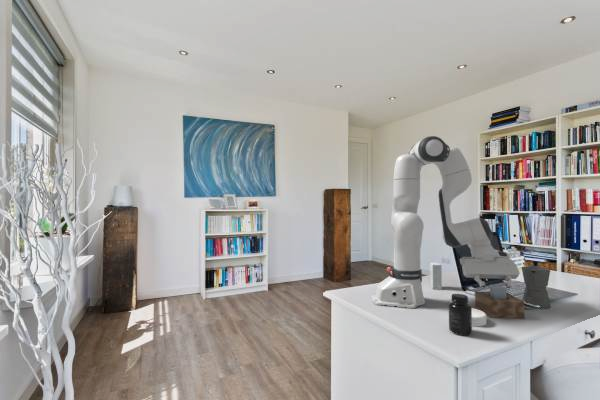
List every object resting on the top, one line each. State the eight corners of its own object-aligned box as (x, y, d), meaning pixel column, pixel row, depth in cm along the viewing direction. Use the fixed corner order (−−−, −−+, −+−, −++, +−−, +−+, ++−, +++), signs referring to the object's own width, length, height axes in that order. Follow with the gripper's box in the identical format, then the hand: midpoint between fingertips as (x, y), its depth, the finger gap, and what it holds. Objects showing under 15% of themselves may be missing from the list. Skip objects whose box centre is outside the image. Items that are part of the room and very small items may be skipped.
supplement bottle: (476, 335, 98) (476, 298, 98) (456, 336, 98) (455, 299, 98) (463, 326, 105) (463, 292, 105) (444, 327, 104) (444, 292, 104)
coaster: (458, 325, 107) (458, 315, 107) (452, 315, 116) (452, 306, 116) (490, 328, 104) (490, 318, 104) (481, 317, 114) (481, 308, 114)
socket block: (489, 317, 113) (488, 301, 113) (475, 306, 125) (475, 291, 125) (524, 318, 111) (524, 302, 111) (507, 307, 123) (506, 292, 123)
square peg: (495, 311, 116) (494, 287, 116) (490, 307, 120) (489, 284, 120) (506, 311, 116) (506, 287, 116) (501, 307, 120) (500, 285, 120)
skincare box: (442, 289, 148) (441, 265, 148) (432, 289, 149) (432, 264, 149) (439, 286, 154) (438, 262, 154) (430, 285, 155) (429, 262, 155)
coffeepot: (549, 312, 117) (548, 265, 117) (519, 306, 124) (518, 262, 124) (552, 302, 128) (552, 259, 128) (525, 297, 135) (524, 256, 135)
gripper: (460, 252, 128) (469, 281, 119) (513, 253, 125) (527, 283, 116) (456, 260, 133) (465, 289, 123) (507, 262, 130) (520, 291, 120)
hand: (496, 286), depth 119 cm, fingers open, 8 cm apart
